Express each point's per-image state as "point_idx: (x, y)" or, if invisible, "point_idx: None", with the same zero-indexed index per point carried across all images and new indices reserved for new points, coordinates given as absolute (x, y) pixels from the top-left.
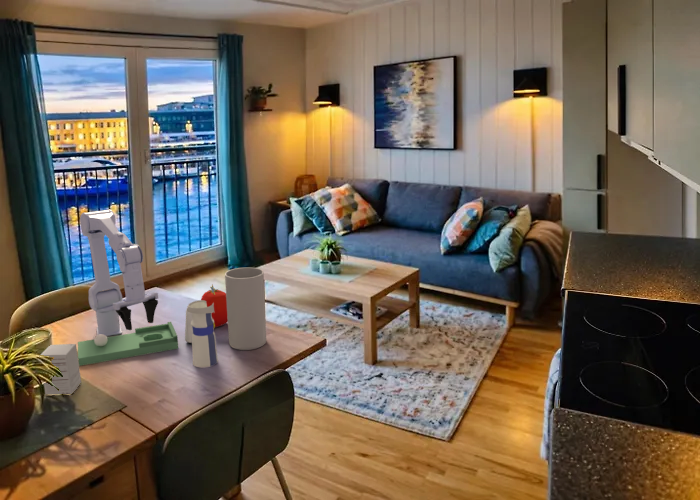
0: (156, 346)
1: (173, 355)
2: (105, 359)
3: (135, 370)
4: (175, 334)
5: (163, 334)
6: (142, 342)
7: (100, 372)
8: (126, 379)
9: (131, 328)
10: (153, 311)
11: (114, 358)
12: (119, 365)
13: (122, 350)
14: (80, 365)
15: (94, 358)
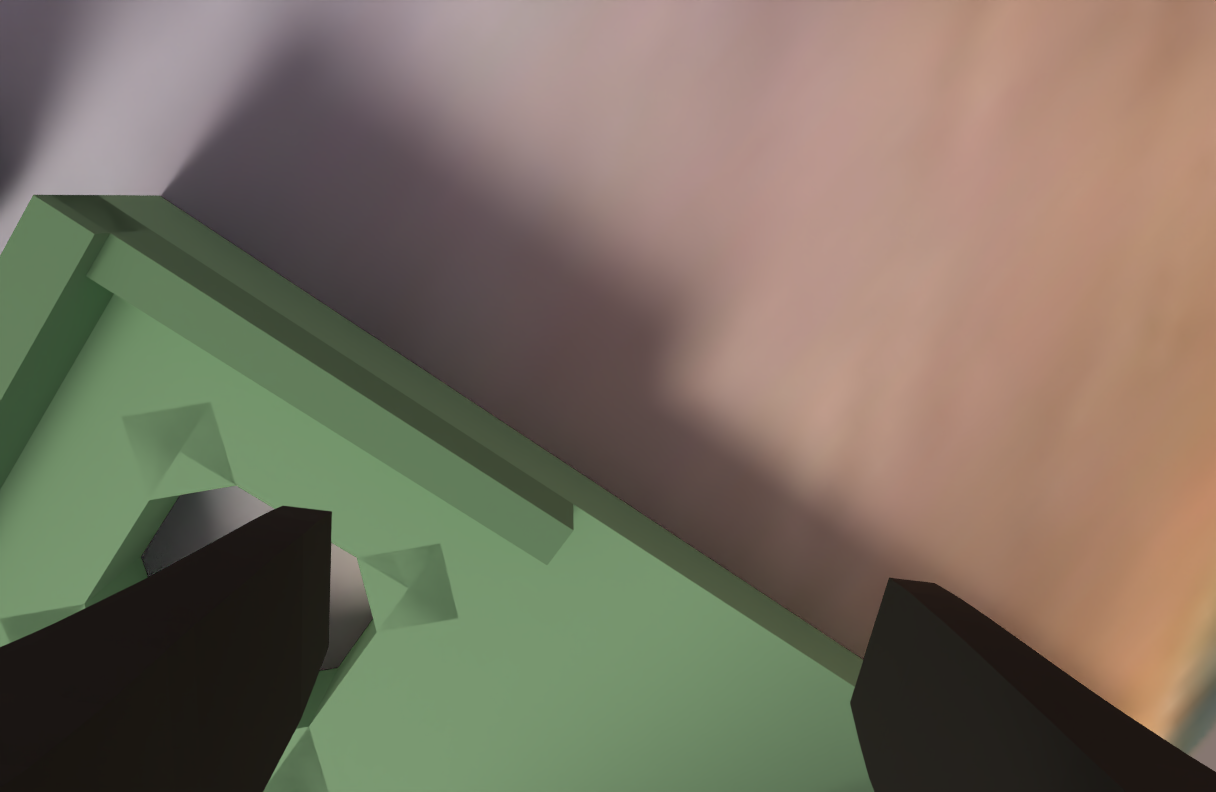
0: (387, 375)
1: (352, 80)
2: None
3: (904, 181)
4: (17, 271)
5: (72, 579)
6: (517, 523)
7: (1089, 490)
8: (1129, 81)
9: (912, 592)
10: (53, 661)
11: (798, 623)
12: (880, 455)
13: (735, 624)
14: None
15: None
